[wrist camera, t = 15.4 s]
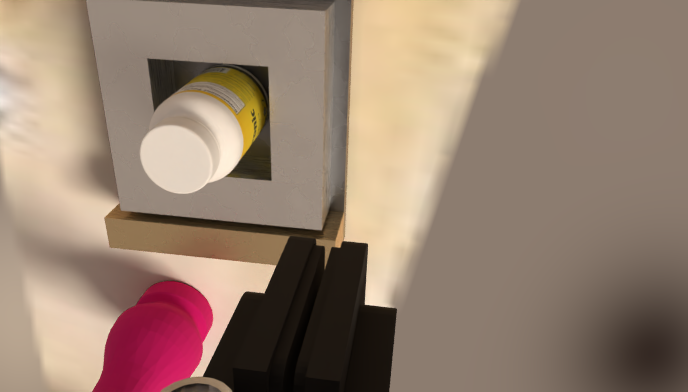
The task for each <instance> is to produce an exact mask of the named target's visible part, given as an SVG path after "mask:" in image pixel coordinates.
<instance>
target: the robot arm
mask: <svg viewBox="0 0 688 392" xmlns="http://www.w3.org/2000/svg"><path fill="white" fill-rule="evenodd" d="M367 255H368V244H366V243H356V242H347V241H342V243H341V247H340V248H339V247H332V248H331V250H330V254H329V257H328V260H327V264H326V267H325V247H324V246H320V245H316V239H315V238H307V237H297V236H290V237H289V238H288V240H287V243H286V245H285V247H284V250H283V252H282V254H281V257H280V259H279V261H278V264H277V266H276V268H275V271H274V273H273V275H272V277H271V280H270V282H269V284H268V287H267V289H266V291H265V294H264V293H255V292H245V293H244V294H243V296H242V297H241V299H240V301H239V303H238V305H237V307H236V309H235V312H234V314H233V316H232V318H231V320H230V322H229V324H228V326H227V328H226V330H225V332H224V334H223V336H222V338H221V340H220V342H219V344H218V346H217V349H216V351H215V353H214V355H213V357H212V359H211V361H210V363H209V365H208V367H207V369H206V371H205V373H204V375H203V377H192V378H186V379H183V380H180V381H177V382H174V383H172V384H171V385H169V386H167V387H165V388H164V389H162V390H161V391H160V392H389V388H390V377H391V366H392V356H393V344H394V335H395V323H396V313H397V309H396V308H388V307H379V306H370V305H365V288H366V271H367Z"/></svg>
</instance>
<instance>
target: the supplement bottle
mask: <svg viewBox="0 0 688 392" xmlns="http://www.w3.org/2000/svg"><path fill="white" fill-rule="evenodd" d="M268 115H269V101H268V97H267V94H266V91H265V89H264V87H263V86H262V84H261V83H260V82H259V80H258V79H257V78H256V77H255V76H254V75H252V74H251V73H250V72H248V71H247V70H245V69H243V68H241V67H238V66H235V65H228V64H222V65H216V66H213V67H210V68H208V69H206V70H204V71H203V72H201V73H200V74H199V75H197V76H196V77H195V78H194V79H192V80H191V81H190V82H189V83H187V84H186V85H185V86H183V87H182V88H181V89H179V90H178V91H177V92H176V93H174V94H173V95H172V96H170V97H169V98H167V99H166V100H165V101H164V102H163V103H162V104H161V105H160V106H159V107H158V108H157V109H156V110H155V112H154V114H153V116H152V118H151V121H150V125H149V131H148V132H147V134H146V135H145V136H144V138H143V140H142V142H141V146H140V159H141V163H142V166H143V168H144V170H145V172H146V174H147V175H148V176H149V178H150V179H151V180H152V181H153V182H154V183H155V184H157V185H158V186H159V187H161V188H163V189H165V190H167V191H170V192H173V193H178V194H188V193H192V192H195V191H198V190H199V189H201V188H202V187H204V186H205V185H206V184H207V183H210V182H214V181H217V180H219V179H221V178H223V177H225V176H226V175H227V174H229V173H230V172H231V171H232V170H233V169H234V168H235V166H236V165H237V164H238V163H239V161H240V160H241V158H242V157H243V155H244V154H245V153H246V151H247V150H248V149H249V147H250V146H251V145H252V143H253V142H254V140H255V139H256V138H257V136H258V135H259V134H260V132H261V131H262V129H263V128H264V126H265V124H266V122H267V119H268Z"/></svg>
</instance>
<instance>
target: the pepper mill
mask: <svg viewBox="0 0 688 392" xmlns="http://www.w3.org/2000/svg"><path fill="white" fill-rule="evenodd" d="M212 322H213V314H212V309H211V307H210V305H209V303H208V301H207V300H206V299H205V297H204V296H203V295H202V294H201V293H200V292H198V291H197V290H196V289H194V288H193V287H191V286H188V285H186V284H184V283H180V282H176V281H164V282H159V283H156V284H154V285H152V286H151V287H150V288H148V289H147V290H146V292H145V293H144V294H143V296H142V297H141V298H140V300H139V301H138V303H137V304H136V306H133V307H131V308H129V309H127V310H126V311H125V312H123V313H122V314H121V315H120V316H119V317H118V319H117V320H116V322H115V324H114V325H113V327H112V329H111V330H110V333H109V335H108V339H107V342H106V345H105V353H104V365H103V371H102V374H101V377H100V379H99V381H98V383H97V384H96V386H95V388H94V389H93V391H92V392H160V391H161V390H162V389H164V388H165V387H167V386H169V385H171V384H172V383H174V382H177V381H180V380H183V379H186V378H190V376H191V375H192V373H193V372H194V370H195V369H196V368H197V366H198V365H199V362H200V360H201V357H202V353H203V345H202V343H203V341H204V340H205V338H206V336H207V334H208V332H209V330H210V328H211V326H212Z"/></svg>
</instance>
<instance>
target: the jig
mask: <svg viewBox="0 0 688 392" xmlns="http://www.w3.org/2000/svg"><path fill="white" fill-rule="evenodd" d="M86 4H87V10H88V16H89V22H90V28H91V34H92V40H93V46H94V52H95V58H96V64H97V70H98V76H99V82H100V88H101V94H102V100H103V106H104V112H105V118H106V124H107V130H108V136H109V142H110V148H111V154H112V160H113V166H114V172H115V178H116V184H117V190H118V196H119V202H120V203H119V204H118V205H117V206H116V207H115V208H114V209H113V210H112V211H111V212H110V213H109V214H108V215H107V216H106V217H105V224H106V229H107V235H108V240H109V246H110V247H111V248H120V249H129V250H139V251H148V252H158V253H167V254H176V255H186V256H195V257H204V258H214V259H223V260H233V261H242V262H251V263H261V264H270V265H277V264H278V261H279V259H280V257H281V254H282V252H283V250H284V247H285V245H286V243H287V240H288V238H289V237H290V236H297V237H307V238H315V239H316V245H320V246H324V247H325V267H326V264H327V260H328V257H329V254H330V250H331V248H332V247H339V248H340V247H341V243H342V241H344V237H345V216H346V189H347V162H348V135H349V107H350V80H351V53H352V26H353V0H86ZM222 64H228V65H235V66H238V67H241V68H243V69H245V70H247V71H248V72H250V73H251V74H252V75H254V76H255V77H256V78H257V79H258V80H259V82H260V83H261V84H262V86H263V87H264V89H265V91H266V94H267V97H268V101H269V115H268V119H267V122H266V124H265V126H264V128H263V129H262V131H261V132H260V134H259V135H258V136H257V138H256V139H255V140H254V142H253V143H252V145H251V146H250V147H249V149H248V150H247V151H246V153H245V154H244V155H243V157H242V158H241V160H240V161H239V163H238V164H237V165H236V166H235V168H234V169H233V170H232V171H231V172H230V173H229V174H227V175H226V176H225V177H223V178H221V179H219V180H217V181H214V182H210V183H207V184H206V185H205V186H204V187H202V188H201V189H199V190H198V191H195V192H192V193H188V194H178V193H173V192H170V191H167V190H165V189H163V188H161V187H159V186H158V185H157V184H155V183H154V182H153V181H152V180H151V179H150V178H149V176H148V175H147V174H146V172H145V170H144V168H143V166H142V163H141V159H140V146H141V142H142V140H143V138H144V136H145V135H146V134H147V132H148V131H149V125H150V121H151V118H152V116H153V114H154V112H155V110H156V109H157V108H158V107H159V106H160V105H161V104H162V103H163V102H164V101H165V100H166V99H167V98H169V97H170V96H172V95H173V94H174V93H176V92H177V91H178V90H179V89H181V88H182V87H183V86H185V85H186V84H187V83H189V82H190V81H191V80H192V79H194V78H195V77H196V76H197V75H199V74H200V73H201V72H203V71H204V70H206V69H208V68H210V67H213V66H216V65H222Z"/></svg>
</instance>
